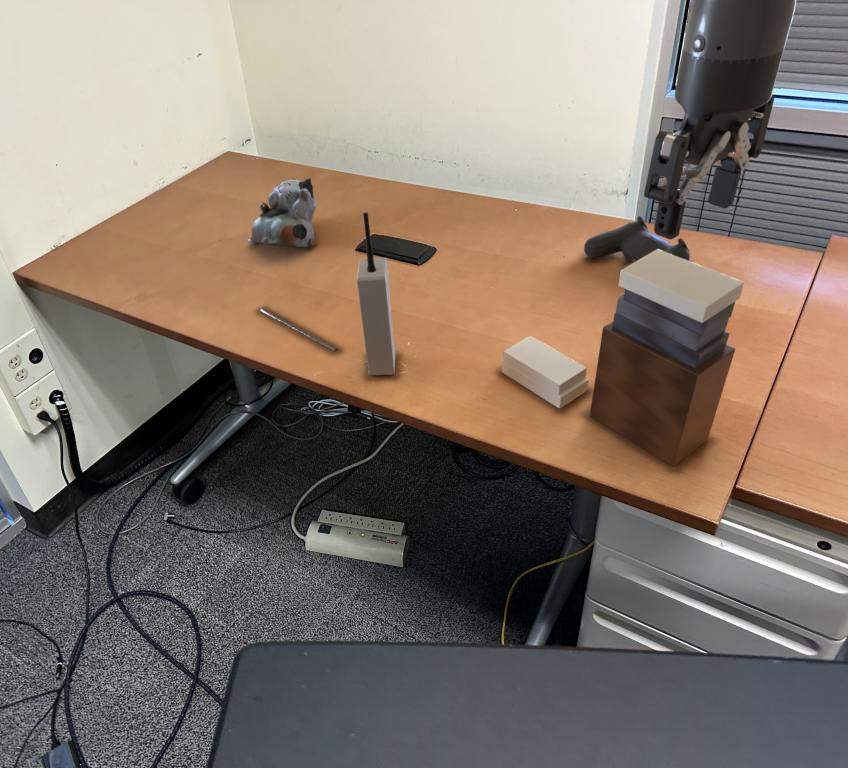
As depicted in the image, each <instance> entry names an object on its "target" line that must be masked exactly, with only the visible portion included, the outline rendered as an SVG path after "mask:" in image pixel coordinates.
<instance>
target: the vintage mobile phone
mask: <svg viewBox="0 0 848 768" xmlns="http://www.w3.org/2000/svg"><path fill="white" fill-rule="evenodd" d="M362 216H363V217H362V218H363V225H364V234H365V235H364V236H365V244H366V245H365V252H366V258H360V259H359V263H358V268H357V269H358V270H357V276H356V284H357V293H358V302H359V306H360V307H359V308H360V316H361V324H362V331H363V340H364V347H365V356H366V357H365V358H366V363H367V364H366V365H367V371H368V376H393V375H395V369H396V368H395V367H396V346H395V340H394V329H393V318H392V309H391V297H390V296H391V295H390V293H391V292H390V280H389V268H388V259H387V257H375V258H374V249H373V245H372V240H371V239H372V238H371V230H370V220H369V212H363V213H362Z"/></svg>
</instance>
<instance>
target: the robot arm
mask: <svg viewBox="0 0 848 768" xmlns="http://www.w3.org/2000/svg"><path fill="white" fill-rule="evenodd" d="M796 3H797V0H693V2H692V5H691V9H690V12H689V15H688V20H687V25H686V31H685V37H684V41H683V47H682V52H681V58H680V64H679V69H678V74H677V80H676V85H675V91H674V98H675V101H676V102H677V103H678V105H680V106H681V107H682V109H683V111H684V115H683V118H682V122H681V124H680V126H679V128H678V130H677V131H675V132H672V133H671V132H668V131H664V130H660V131H659V132H658V133H657V134H656V137H655V139H654V143H653V149H652V154H651V157H650V163H649V168H648V173H647V177H646V182H645V187H644V192H643V196H644V198H646V199H649V200H652V201H656V202H658V204H657V210H656V214H655V215H656V216H655V217H656V218H655V221H654V227H653V232H654V234H655V235H656V236H658V237H662V238H665V239H667V240H674V239H676V238H677V237H678V236H680V232H681V228H682V222H683V217H684V213H685V210H686V209H685V208H686V204H687V202H686V201H687V199H688V197H689V195H690V193H691V191H693V188H694V186H695V185H696V184H697V183H700V182H702V181H704V179H705V178H706V176H707V174H708V172H709V171H710V169H711V167H712V166H713V165H714V164H715V163H717V165H719V166H717V167H715V169H714V174H713V178H712V181H711V186H710V191H709V195H708V198H707V200H708V203H709V204H710V205H712V206H715V207H718V208H721V209H728V208H729V207H731V206H733V205H734V202H735V198H736V194H737V190H738V187H739V184H740V183H739V182H740V179H741V175H742V171H745V170H746V169H747V167H748V166H749V163H750V160H751V159H752V158H753V159H758V157H759V156H760V155H761V154H762V151H763V147H764V143H765V140H766V139H765V138H766V134H767V130H768V125H769V123H770V122H769V121H770V119H771V114H772V110H773V105H774V101H775V95H773V93H774V88H775V84H776V81H777V77H778V74H779V70H780V66H781V62H782V59H783V54H784V51H785V48H786V43H787V41H788V36H789V32H790V29H791V25H792V23H793V18H794V13H795V10H796ZM748 133H749V134H752V135H753V137H752V141H751V142H750V137H749V134H748ZM685 162H686V163H687V164H690V165H694V166H695V167H689V166H685V165H684V164H685ZM660 177H662V179H661V181H660ZM681 178H684V180H683V182H682V184H681V185H680V182H681ZM659 182H660V183H659Z"/></svg>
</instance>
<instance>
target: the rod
mask: <svg viewBox="0 0 848 768" xmlns="http://www.w3.org/2000/svg"><path fill="white" fill-rule="evenodd" d="M260 312H261V313H263V314H265V315H266V316H268V317H270V318H272V319H274V320H275V321H278V322H279V323H281V324H282V325H284V326H287V327H288V328H290V329H292V330H294V331H296V332H297V333H299V334H301V335H302V336H305V337H307V338H308V339H310V340H311V341H313V342H315V343H317V344H319V345H321V346H323V347H325V348H326V349H328V350H330V351H332V352H333V353H336V351H337V352H338V350H339V349H338V348H337V347H335V346H333V345H331V344H329V343H327V342H325V341H324V340H322V339H320V338H318V337H316V336H315V335H314V334H313V335H312V334H311V333H309V332H307V331H305V330H303V329H301V328H300V327H298V326H296V325H295V324H293V323H291V322H289V321H287V320H286V319H283V318H282V317H279V315H276V314H274V313H273V312H271V311H268V310H267V309H265V308H262V307H261V308H260Z"/></svg>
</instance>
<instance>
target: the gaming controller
mask: <svg viewBox="0 0 848 768" xmlns="http://www.w3.org/2000/svg"><path fill="white" fill-rule="evenodd" d="M636 220H637V221H631V222H627V223H626V224H624V225H621V226H620V227H618V228H614V229H611V230H608V231H605V232H602V233H600V234H597V235H593V236H591V237H590V238H588V239H587V240H586V241H585V243H584V245H583V251H584V254H585V255H586V256H587V257H588V258H590V259H595V260H596V259H601V258H605V257H608V256H610V255H613V254H617V253H622V254H623V257H624V258H626V259H627V260H630V261H634V262H636V261H638V260H639V259H641V258H643V257H645V256H646V255H648V254H650V253H652V252H653V251H655V250H657V249H659V250H661V251H664V252H666V253H669V254H672V255H674V256H677V257H679V258H682V259H685V260H687V261H690V258H691V254H690V249H689V248H688V246H687V244H686V242H685V240H684V239H683V238H682V237H679V238H678V239H677V244H674V245H672V244H671V243H669V242H667V241H666V240H665V239H663V238H661V237H660V236H658V235H656V234H653V233H651V232H650V231H649V228H648V226H647V224H646V223H645V222H646V221H644V218H643V217H642V216H641V215H638V216H637V218H636Z"/></svg>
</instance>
